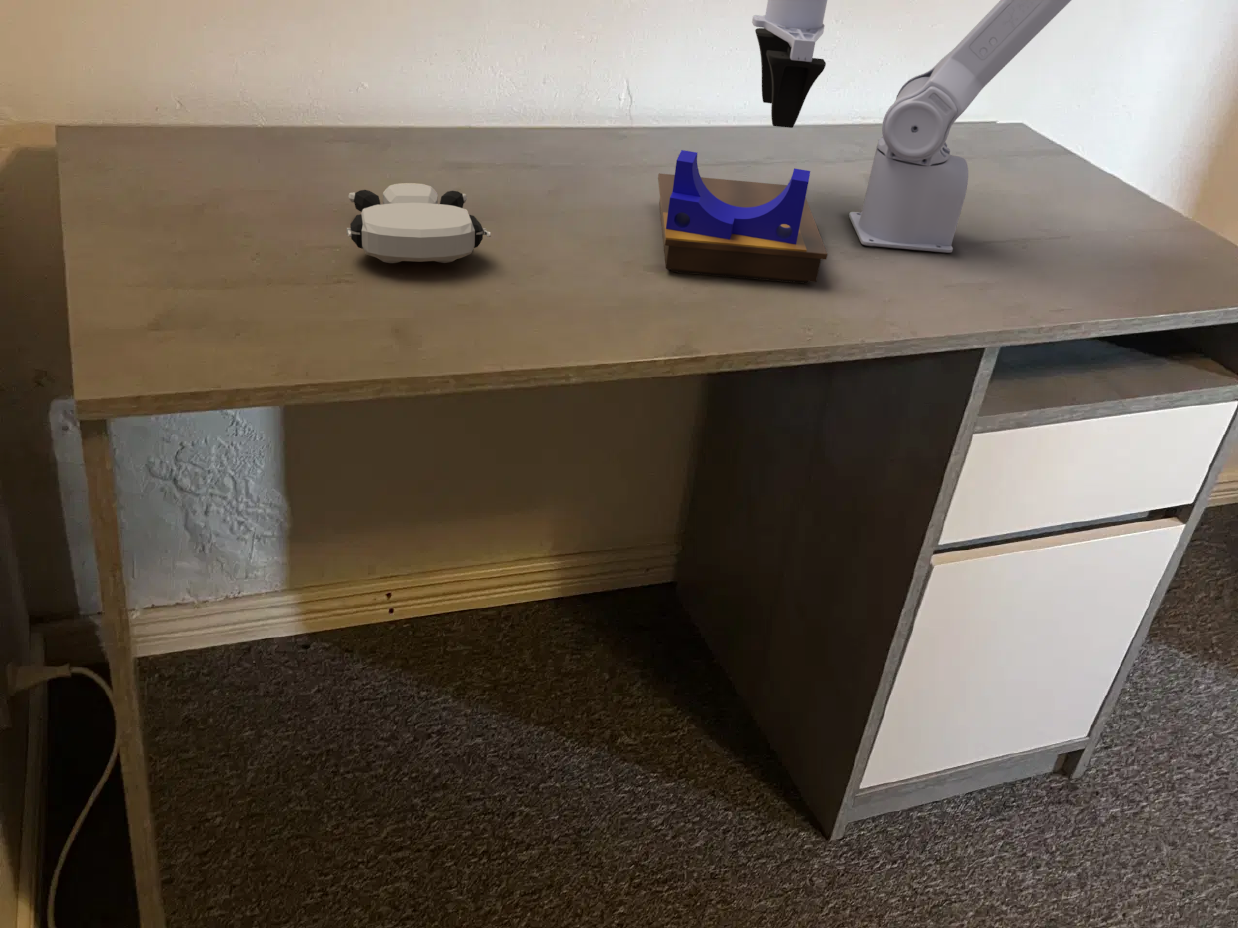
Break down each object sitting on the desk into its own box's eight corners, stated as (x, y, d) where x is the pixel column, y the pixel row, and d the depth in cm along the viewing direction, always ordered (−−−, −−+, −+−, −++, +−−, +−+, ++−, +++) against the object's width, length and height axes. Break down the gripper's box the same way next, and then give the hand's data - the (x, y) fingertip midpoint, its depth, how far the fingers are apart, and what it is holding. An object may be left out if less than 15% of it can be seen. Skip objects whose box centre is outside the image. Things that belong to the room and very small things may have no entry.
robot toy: (343, 221, 111) (349, 279, 98) (342, 175, 108) (347, 228, 96) (470, 222, 114) (491, 277, 101) (471, 177, 111) (492, 228, 99)
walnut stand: (795, 219, 121) (802, 184, 119) (820, 289, 107) (828, 252, 105) (654, 206, 120) (658, 171, 118) (660, 275, 106) (665, 237, 104)
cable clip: (665, 228, 105) (674, 165, 102) (673, 211, 109) (681, 150, 106) (794, 250, 104) (807, 187, 101) (798, 232, 108) (810, 171, 104)
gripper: (752, -46, 116) (731, 89, 123) (771, -14, 104) (746, 133, 111) (820, -39, 116) (796, 95, 124) (847, -6, 104) (818, 140, 112)
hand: (777, 114), depth 117 cm, fingers open, 7 cm apart
